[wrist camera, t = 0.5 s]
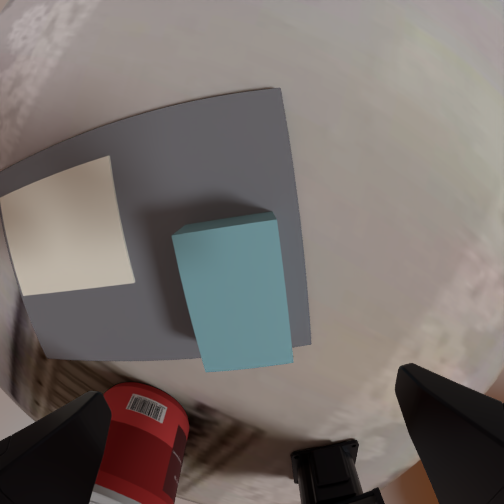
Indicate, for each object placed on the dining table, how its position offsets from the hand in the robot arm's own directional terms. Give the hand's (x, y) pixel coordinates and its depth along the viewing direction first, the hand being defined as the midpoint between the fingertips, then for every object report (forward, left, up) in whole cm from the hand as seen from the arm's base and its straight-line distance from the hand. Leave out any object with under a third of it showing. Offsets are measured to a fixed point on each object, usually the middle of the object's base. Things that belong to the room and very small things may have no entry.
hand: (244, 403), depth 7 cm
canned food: (-11, +11, -11) cm, 19 cm away
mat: (+3, +8, -11) cm, 13 cm away
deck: (0, +1, -10) cm, 10 cm away
